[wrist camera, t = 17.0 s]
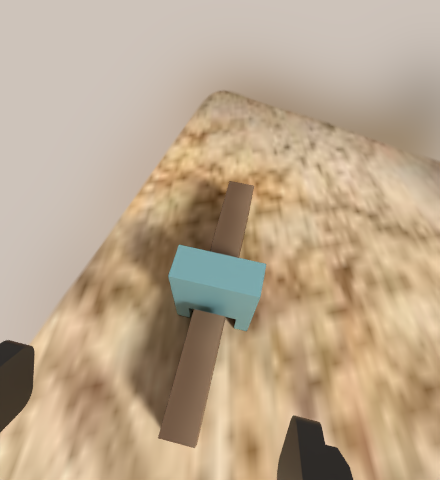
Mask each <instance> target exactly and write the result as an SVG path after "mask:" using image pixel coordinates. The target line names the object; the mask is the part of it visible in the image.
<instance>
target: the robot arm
mask: <svg viewBox="0 0 440 480" xmlns="http://www.w3.org/2000/svg"><path fill="white" fill-rule="evenodd" d="M33 373H34V348H33V347H32V346H29V345H25V344H22V343H18V342H14V341H10V340H7V341H4V342H2V343H1V344H0V432H1V431H2V430H3V429H4V428H5V427H6V426H7V425H8V424H9V423H10V422H11V421H12V420H13V419H14V418H15V417H16V416H17V415H18V414H19V413H20V412H21V411H22V410H23V408H24V407H25V406H26V404H27V402H28V401H29V398H30V396H31V393H32V389H33ZM277 480H353V478H352V474H351V470H350V467H349V465H348V464H347V462H346V461H345V459H344V457H343V456H342V454H341V453H340V451H339V450H338V448H336V447H332V446H328V445H325V441H324V436H323V431H322V427H321V424H320V422H317V421H313V420H309V419H306V418H302V417H298V416H293V417H292V419H291V421H290V424H289V428H288V431H287V434H286V438H285V441H284V444H283V448H282V451H281V454H280V458H279V463H278V471H277Z"/></svg>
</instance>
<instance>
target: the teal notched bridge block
mask: <svg viewBox="0 0 440 480" xmlns="http://www.w3.org/2000/svg"><path fill="white" fill-rule="evenodd" d="M265 268H266V264H264V263H259V262H255V261H250V260H246V259H241V258H237V257H232V256H228V255H223V254H219V253H214V252H210V251H205V250H201V249H197V248H192V247H188V246H183V245H179V246H178V249H177V252H176V255H175V258H174V261H173V264H172V267H171V270H170V273H169V275H168V277H169V281H170V285H171V290H172V294H173V298H174V302H175V306H176V310H177V314H178V315H182V316H186V317H190V316H191V313H192V309H196V310H200V311H204V312H208V313H213V314H217V315H221V316H224V317H228V318H233V319H236V321H235V325H234V328H235V329H239V330H244V331H247V329H248V327H249V324H250V322H251V319H252V317H253V314H254V312H255V309H256V307H257V304H258V302H259V299H260V296H261V290H262V285H263V279H264V274H265Z"/></svg>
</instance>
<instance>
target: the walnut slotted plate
mask: <svg viewBox="0 0 440 480" xmlns="http://www.w3.org/2000/svg"><path fill="white" fill-rule="evenodd" d="M253 189H254V186H252V185H247V184H242V183H237V182H232V181H229V185H228V188H227V192H226V196H225V199H224V203H223V206H222V210H221V214H220V217H219V221H218V224H217V228H216V232H215V235H214V239H213V242H212V246H211V250H210V252H214V253H219V254H223V255H228V256H232V257H237V258H239V255H240V251H241V246H242V242H243V237H244V233H245V228H246V224H247V220H248V215H249V210H250V204H251V199H252V194H253ZM224 322H225V317H224V316H221V315H217V314H213V313H208V312H204V311H200V310H196V309H194V311H193V314H192V318H191V322H190V325H189V329H188V332H187V336H186V340H185V343H184V347H183V350H182V354H181V358H180V361H179V365H178V368H177V372H176V376H175V379H174V383H173V386H172V390H171V394H170V397H169V401H168V404H167V408H166V411H165V415H164V419H163V422H162V426H161V429H160V433H159V437H158V438H159V439H163V440H167V441H171V442H174V443H178V444H182V445H185V446H189V447H193V448H195V447H196V445H197V442H198V437H199V433H200V428H201V424H202V419H203V415H204V411H205V406H206V402H207V397H208V393H209V388H210V384H211V380H212V375H213V371H214V366H215V362H216V357H217V353H218V348H219V344H220V340H221V335H222V331H223V326H224Z"/></svg>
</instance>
